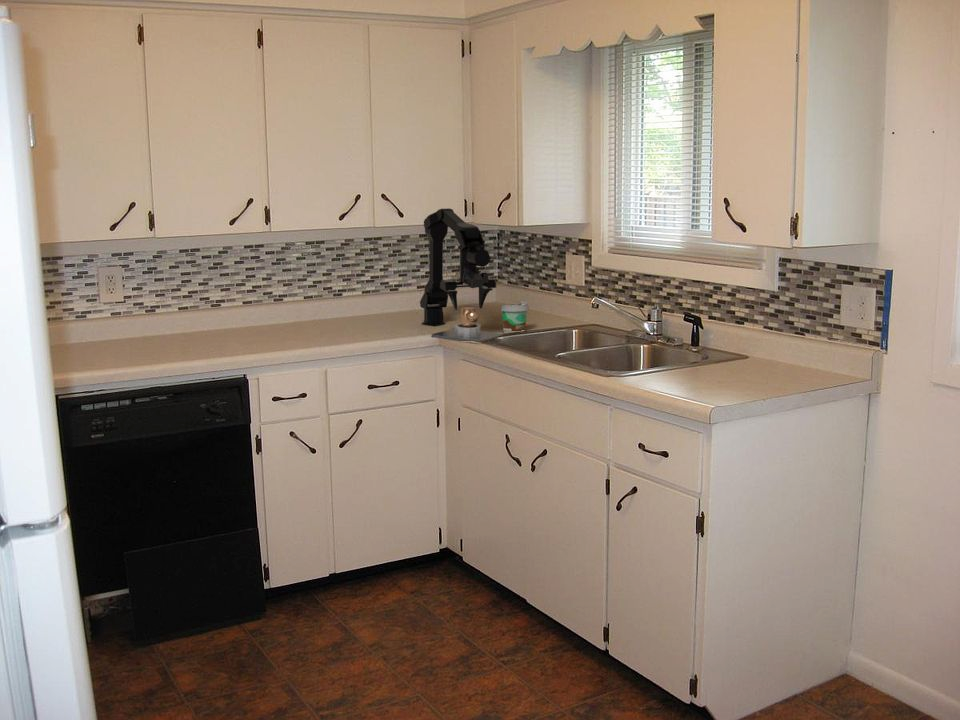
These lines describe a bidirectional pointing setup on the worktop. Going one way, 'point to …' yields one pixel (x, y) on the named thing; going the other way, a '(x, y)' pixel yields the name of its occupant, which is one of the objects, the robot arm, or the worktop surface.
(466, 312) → the elbow
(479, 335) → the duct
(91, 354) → the worktop surface
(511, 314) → the food container
